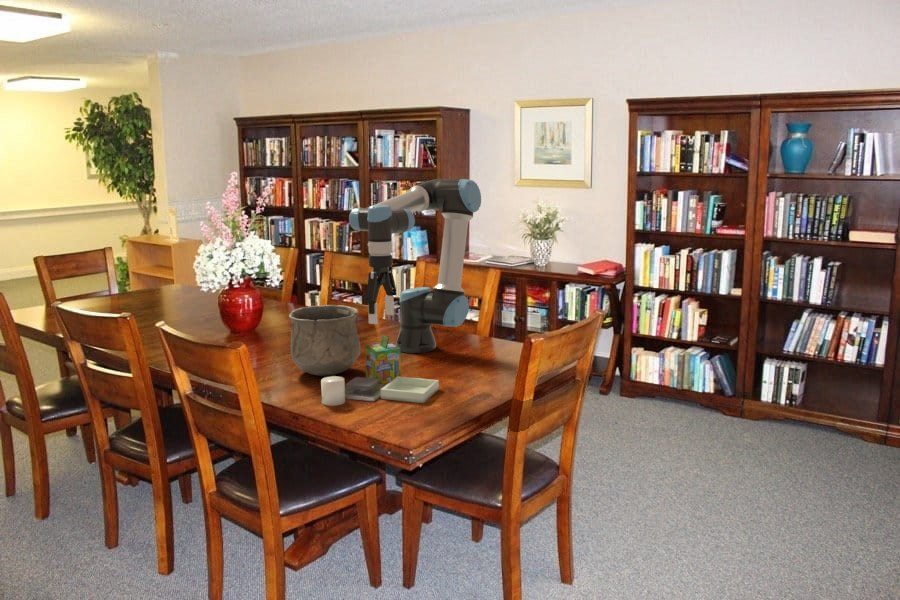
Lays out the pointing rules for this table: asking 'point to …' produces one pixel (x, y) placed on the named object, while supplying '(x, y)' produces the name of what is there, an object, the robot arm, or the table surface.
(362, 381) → the checker plate
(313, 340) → the pot
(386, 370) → the chalk box
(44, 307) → the table surface
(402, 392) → the trough tray
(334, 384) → the white cylinder
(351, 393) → the checker base
